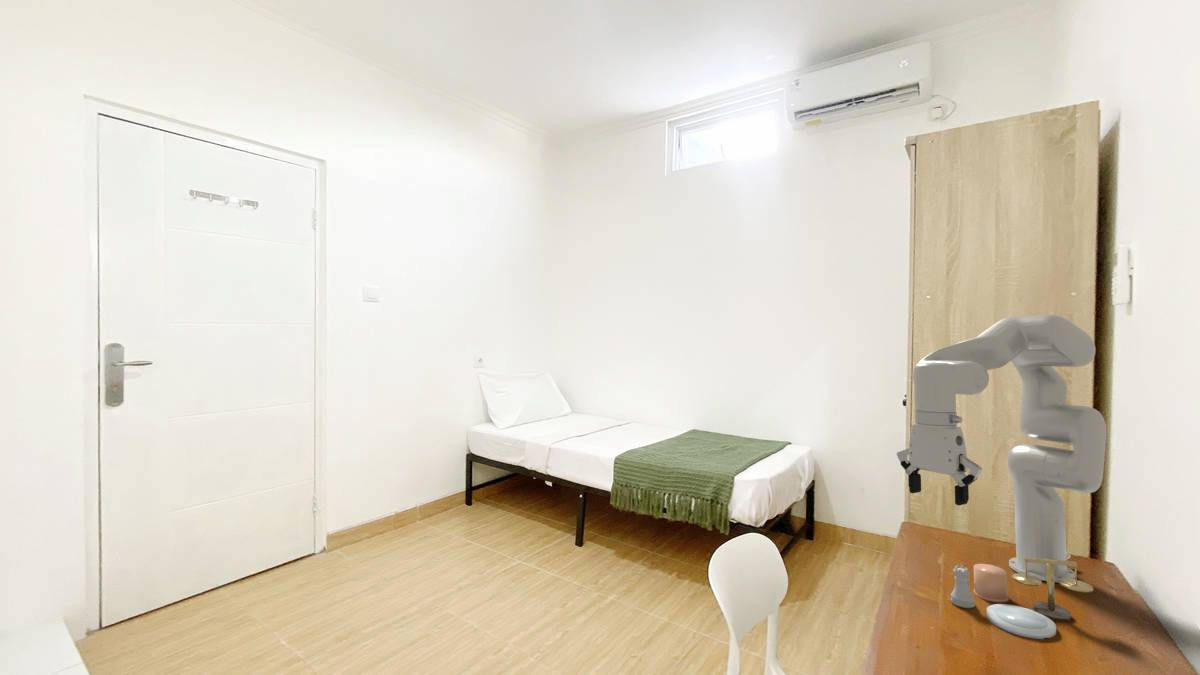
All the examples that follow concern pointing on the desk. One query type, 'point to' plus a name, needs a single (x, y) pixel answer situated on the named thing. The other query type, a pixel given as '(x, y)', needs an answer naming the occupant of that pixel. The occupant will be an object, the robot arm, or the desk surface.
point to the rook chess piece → (962, 588)
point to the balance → (1052, 588)
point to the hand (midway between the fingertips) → (937, 498)
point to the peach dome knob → (990, 583)
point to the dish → (1021, 621)
